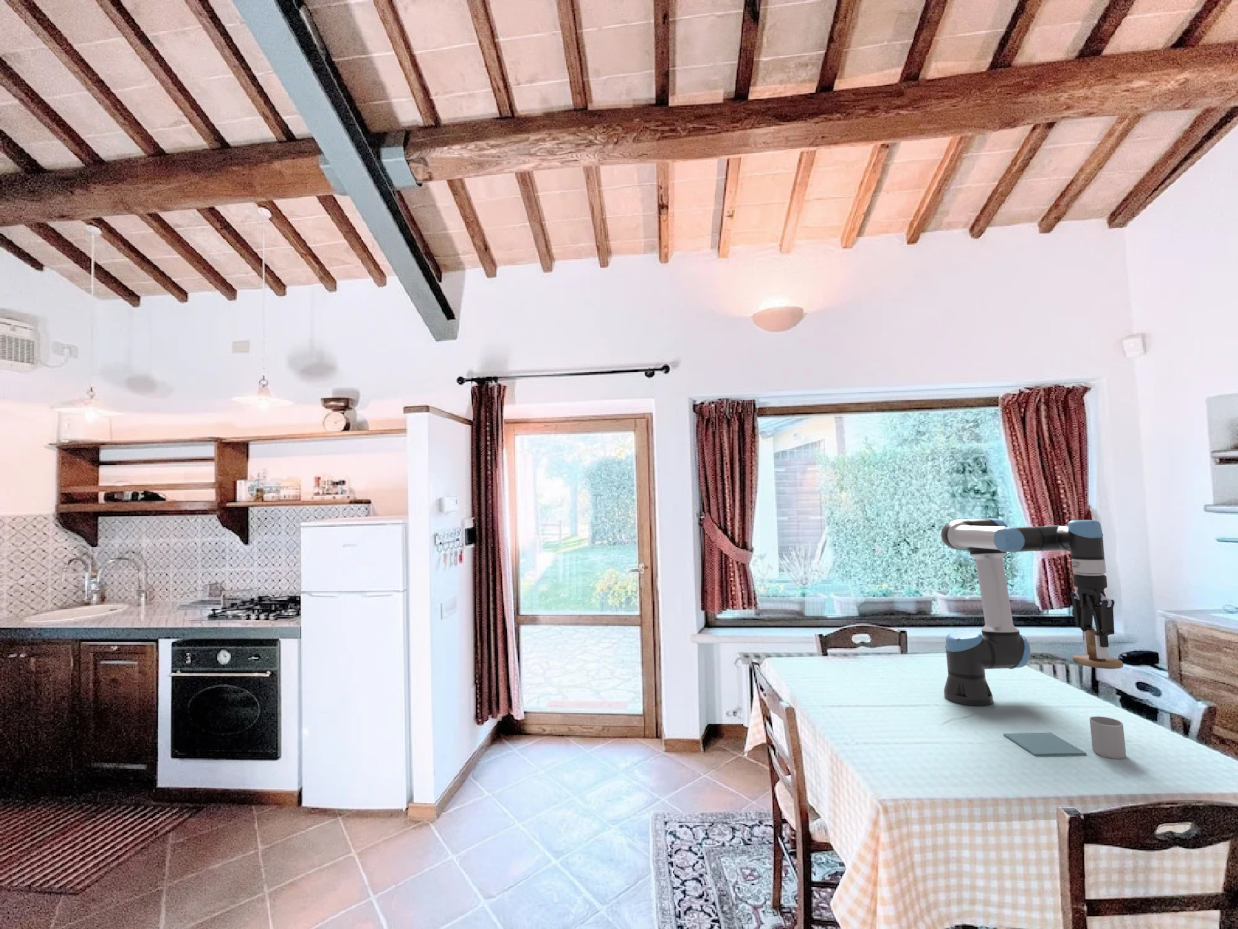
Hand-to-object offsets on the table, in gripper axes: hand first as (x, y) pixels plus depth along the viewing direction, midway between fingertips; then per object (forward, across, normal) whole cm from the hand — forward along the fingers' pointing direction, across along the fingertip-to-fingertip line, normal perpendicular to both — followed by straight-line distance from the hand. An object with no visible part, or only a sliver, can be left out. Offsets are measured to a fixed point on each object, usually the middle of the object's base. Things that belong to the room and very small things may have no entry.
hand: (1097, 656), depth 162 cm
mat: (+26, -5, -14) cm, 30 cm away
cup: (+27, 0, 0) cm, 27 cm away
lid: (+2, 0, 0) cm, 2 cm away
